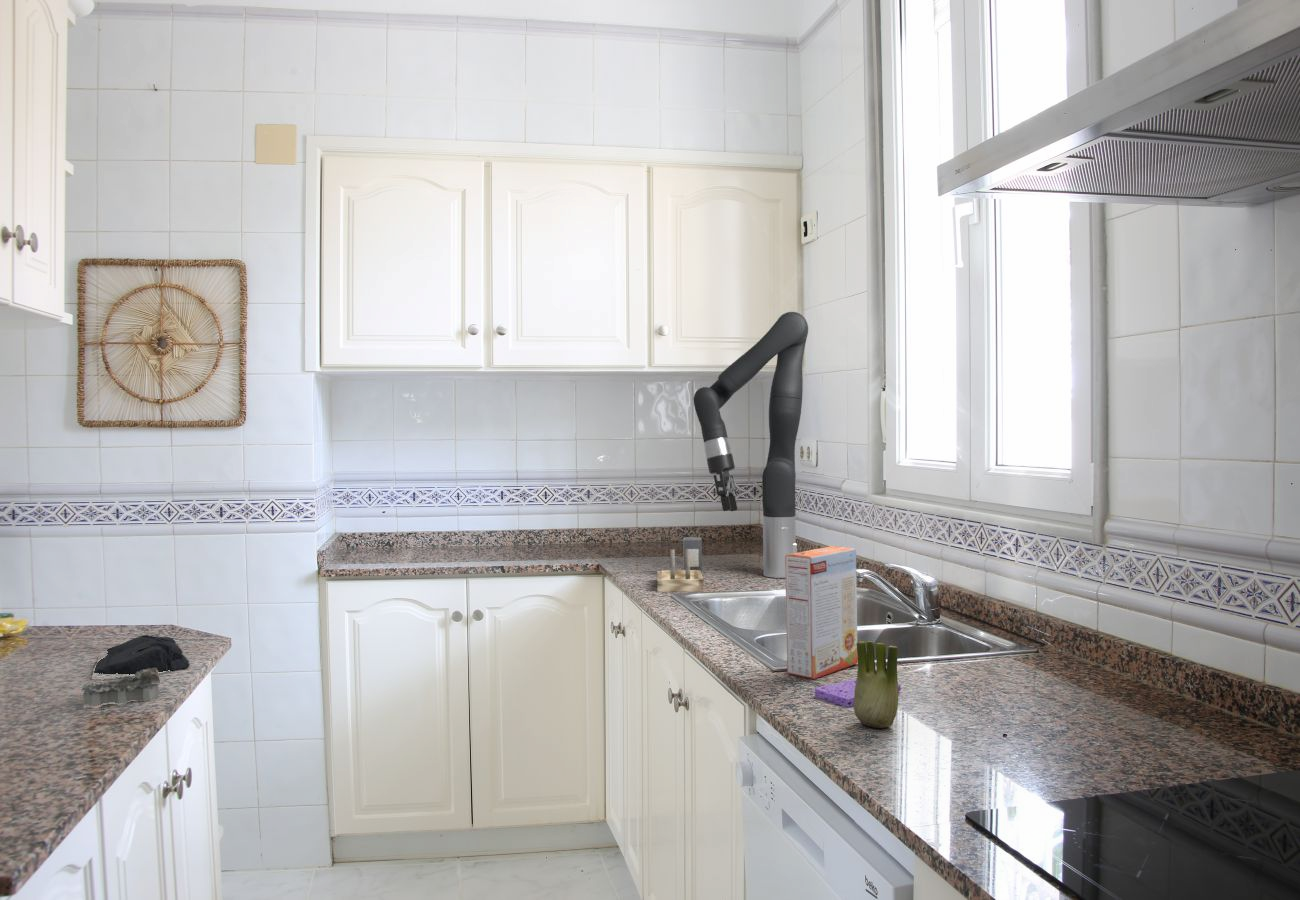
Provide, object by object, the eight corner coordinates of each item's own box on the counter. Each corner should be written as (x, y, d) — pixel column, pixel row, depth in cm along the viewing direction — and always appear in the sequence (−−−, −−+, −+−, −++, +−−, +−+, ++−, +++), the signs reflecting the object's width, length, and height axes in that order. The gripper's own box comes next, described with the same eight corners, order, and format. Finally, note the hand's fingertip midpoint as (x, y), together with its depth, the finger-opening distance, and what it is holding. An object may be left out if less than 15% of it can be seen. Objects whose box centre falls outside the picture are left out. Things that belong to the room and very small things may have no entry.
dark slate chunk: (185, 647, 178) (185, 623, 178) (190, 673, 159) (189, 646, 159) (95, 657, 170) (94, 632, 170) (88, 685, 151) (87, 657, 151)
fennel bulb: (902, 728, 125) (902, 643, 125) (876, 735, 123) (876, 648, 123) (873, 717, 130) (872, 635, 130) (847, 723, 128) (847, 639, 128)
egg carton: (161, 690, 147) (161, 666, 147) (158, 703, 141) (158, 677, 141) (85, 699, 143) (85, 673, 143) (79, 712, 136) (78, 685, 136)
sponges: (814, 699, 141) (813, 687, 141) (867, 685, 148) (867, 674, 148) (848, 710, 135) (848, 698, 135) (901, 695, 143) (901, 684, 143)
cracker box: (830, 658, 164) (830, 545, 163) (859, 664, 159) (858, 547, 159) (783, 673, 154) (783, 552, 153) (813, 680, 150) (812, 556, 149)
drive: (700, 575, 259) (700, 537, 259) (701, 579, 252) (701, 540, 252) (683, 575, 259) (683, 537, 259) (684, 579, 252) (683, 540, 252)
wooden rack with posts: (700, 580, 249) (700, 543, 249) (703, 591, 233) (703, 551, 233) (657, 581, 249) (657, 543, 249) (657, 591, 233) (657, 551, 233)
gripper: (725, 450, 250) (737, 507, 247) (736, 454, 263) (748, 508, 261) (700, 456, 252) (712, 513, 250) (712, 459, 265) (723, 513, 263)
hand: (730, 510), depth 255 cm, fingers open, 8 cm apart
